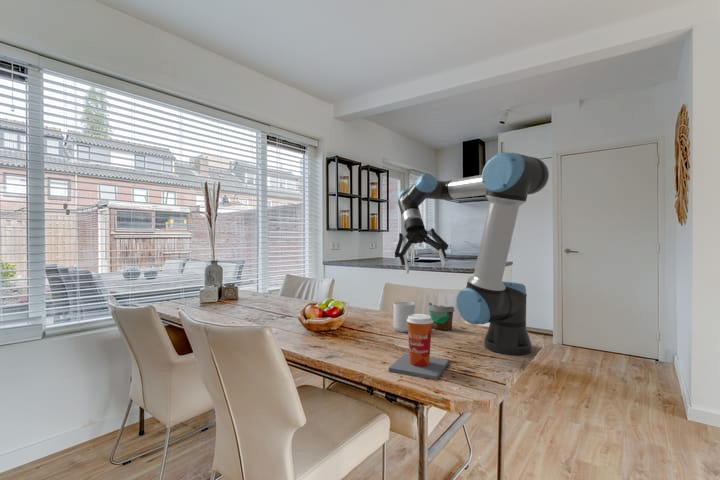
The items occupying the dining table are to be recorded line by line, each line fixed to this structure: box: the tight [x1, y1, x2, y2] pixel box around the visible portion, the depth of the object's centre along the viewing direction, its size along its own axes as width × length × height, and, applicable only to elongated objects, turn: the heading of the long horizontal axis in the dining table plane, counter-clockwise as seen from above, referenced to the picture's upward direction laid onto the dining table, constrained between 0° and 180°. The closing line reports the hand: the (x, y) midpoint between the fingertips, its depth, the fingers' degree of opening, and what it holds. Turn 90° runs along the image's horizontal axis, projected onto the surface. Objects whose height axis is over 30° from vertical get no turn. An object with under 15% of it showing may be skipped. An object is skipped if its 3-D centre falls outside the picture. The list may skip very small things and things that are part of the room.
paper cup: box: [407, 313, 433, 367], centre depth 105 cm, size 8×8×14 cm
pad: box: [388, 353, 449, 381], centre depth 105 cm, size 14×14×1 cm
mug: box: [392, 300, 416, 333], centre depth 148 cm, size 12×9×11 cm
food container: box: [426, 302, 455, 332], centre depth 148 cm, size 12×6×10 cm, turn 42°
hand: (426, 268), depth 129 cm, fingers open, 13 cm apart
